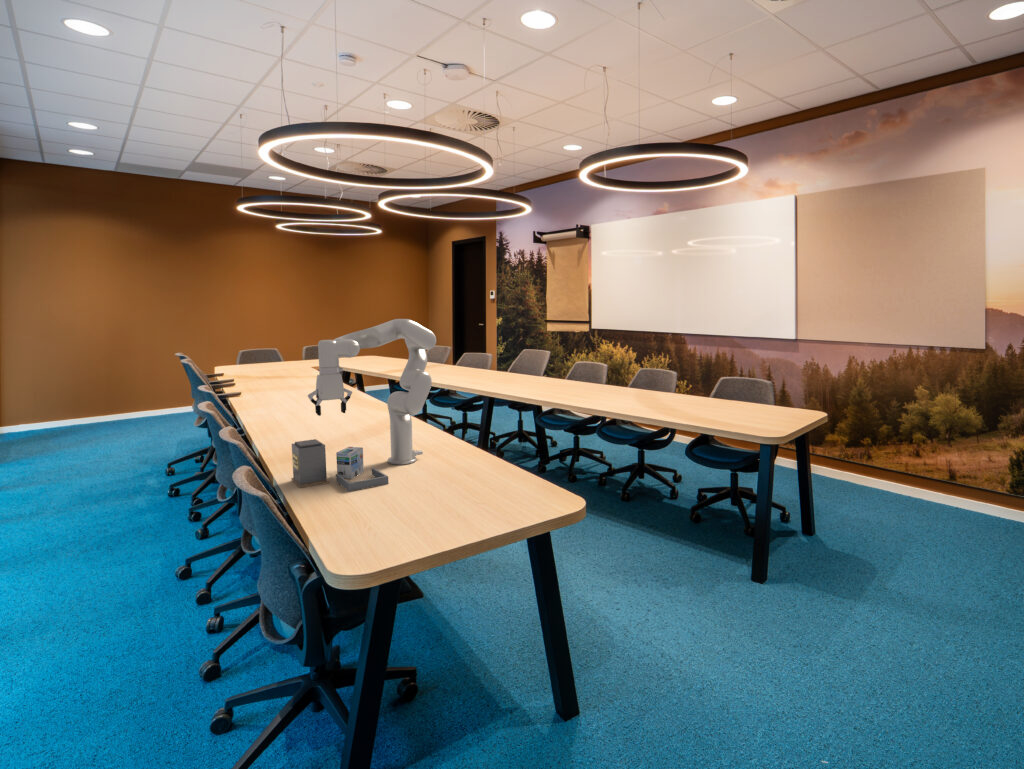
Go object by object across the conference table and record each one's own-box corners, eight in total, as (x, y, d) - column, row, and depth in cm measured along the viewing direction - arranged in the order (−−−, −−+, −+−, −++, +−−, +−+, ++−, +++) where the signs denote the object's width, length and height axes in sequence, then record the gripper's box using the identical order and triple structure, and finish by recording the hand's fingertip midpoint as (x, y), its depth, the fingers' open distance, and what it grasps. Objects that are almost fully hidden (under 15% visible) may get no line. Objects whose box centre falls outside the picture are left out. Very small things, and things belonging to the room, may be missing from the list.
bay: (373, 474, 222) (373, 467, 221) (388, 483, 210) (388, 476, 209) (335, 481, 213) (335, 474, 212) (349, 491, 201) (348, 483, 200)
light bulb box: (352, 479, 215) (350, 453, 214) (336, 478, 217) (335, 452, 215) (364, 472, 226) (363, 446, 224) (349, 471, 227) (348, 446, 226)
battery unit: (319, 475, 221) (317, 437, 219) (329, 482, 211) (327, 443, 209) (291, 480, 214) (289, 441, 212) (299, 488, 204) (297, 447, 202)
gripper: (347, 369, 221) (349, 410, 223) (304, 371, 211) (306, 414, 213) (354, 370, 215) (355, 412, 217) (309, 373, 204) (311, 417, 207)
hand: (331, 413), depth 215 cm, fingers open, 9 cm apart
